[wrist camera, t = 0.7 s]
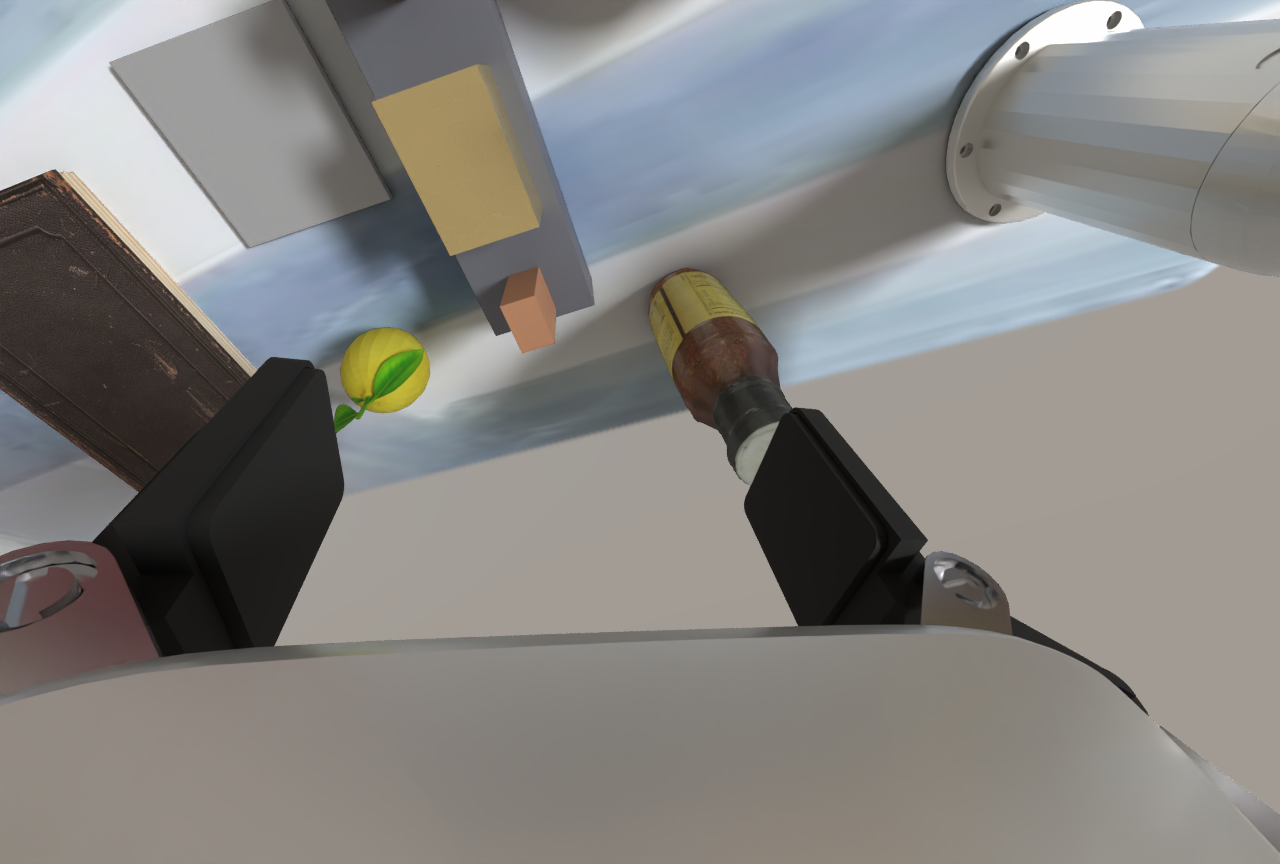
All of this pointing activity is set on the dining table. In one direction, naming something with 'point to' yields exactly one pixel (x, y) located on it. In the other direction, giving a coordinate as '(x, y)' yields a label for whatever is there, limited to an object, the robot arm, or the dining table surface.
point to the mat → (257, 122)
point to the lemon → (382, 373)
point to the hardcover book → (103, 332)
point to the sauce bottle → (719, 364)
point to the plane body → (475, 34)
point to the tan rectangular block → (462, 158)
